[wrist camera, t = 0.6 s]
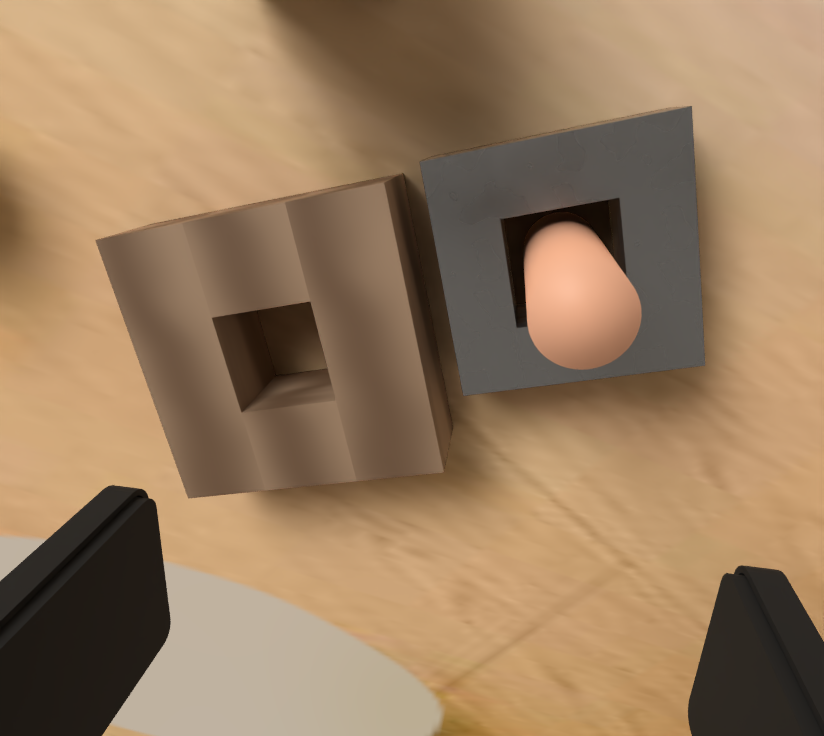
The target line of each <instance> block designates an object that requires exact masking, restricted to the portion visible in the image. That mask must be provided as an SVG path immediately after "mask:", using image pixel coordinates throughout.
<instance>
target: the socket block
mask: <svg viewBox="0 0 824 736" xmlns="http://www.w3.org/2000/svg"><path fill="white" fill-rule="evenodd" d="M96 243H97V246H98V249H99V252H100V254H101V257H102V260H103V263H104V265H105V268H106V271H107V274H108V277H109V279H110V282H111V285H112V288H113V290H114V293H115V296H116V299H117V302H118V304H119V307H120V310H121V313H122V315H123V318H124V321H125V324H126V327H127V329H128V332H129V335H130V338H131V340H132V343H133V346H134V349H135V352H136V354H137V357H138V360H139V363H140V365H141V368H142V371H143V374H144V377H145V379H146V382H147V385H148V388H149V390H150V393H151V396H152V399H153V402H154V404H155V407H156V410H157V413H158V415H159V418H160V421H161V424H162V427H163V429H164V432H165V435H166V438H167V441H168V443H169V446H170V449H171V452H172V454H173V457H174V460H175V463H176V466H177V468H178V471H179V474H180V477H181V479H182V482H183V485H184V488H185V491H186V493H187V496H188V498H197V497H207V496H217V495H226V494H236V493H246V492H256V491H266V490H276V489H286V488H296V487H305V486H315V485H325V484H335V483H345V482H355V481H365V480H375V479H384V478H394V477H404V476H414V475H424V474H434V473H444V469H445V464H446V459H447V454H448V450H449V445H450V440H451V435H452V430H453V425H452V420H451V415H450V410H449V405H448V400H447V395H446V390H445V385H444V379H443V374H442V369H441V364H440V359H439V354H438V349H437V344H436V339H435V334H434V328H433V323H432V318H431V313H430V308H429V303H428V298H427V293H426V288H425V283H424V277H423V272H422V267H421V262H420V257H419V252H418V247H417V242H416V237H415V231H414V226H413V221H412V216H411V211H410V206H409V201H408V196H407V191H406V186H405V180H404V175H403V173H402V174H397V175H392V176H387V177H382V178H377V179H372V180H367V181H362V182H357V183H353V184H348V185H343V186H338V187H333V188H328V189H323V190H318V191H313V192H308V193H303V194H298V195H293V196H288V197H283V198H278V199H273V200H268V201H263V202H258V203H253V204H248V205H243V206H239V207H234V208H229V209H224V210H219V211H214V212H209V213H204V214H199V215H194V216H189V217H184V218H179V219H174V220H169V221H164V222H159V223H154V224H150V225H146V226H143V227H140V228H136V229H133V230H129V231H126V232H122V233H119V234H115V235H112V236H108V237H105V238H102V239H98V240H96ZM304 302H311V306H312V310H313V314H314V317H315V321H316V325H317V329H318V333H319V337H320V341H321V345H322V348H323V352H324V356H325V360H326V364H327V368H328V369H322V370H315V371H307V372H300V373H293V374H286V375H279V376H276V375H275V372H274V368H273V365H272V362H271V358H270V355H269V351H268V348H267V344H266V341H265V337H264V334H263V330H262V327H261V323H260V320H259V316H258V313H257V310H261V309H267V308H273V307H280V306H286V305H292V304H298V303H304Z"/></svg>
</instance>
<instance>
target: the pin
mask: <svg viewBox="0 0 824 736" xmlns="http://www.w3.org/2000/svg"><path fill="white" fill-rule="evenodd" d="M523 258H524V275H525V292H526V309H527V325H528V330H529V334H530V337H531V339H532V341H533V343H534V345H535V346H536V348H537V349H538V350H539V351H540V352H541V353H542V354H543V355H544V356H545V357H546V358H547V359H549V360H550V361H552V362H554V363H555V364H558V365H560V366H563V367H566V368H570V369H580V370H584V369H593V368H597V367H601V366H604V365H606V364H608V363H610V362H612V361H614V360H615V359H617V358H618V357H620V356H621V355H622V354H623V353H624V352H625V351H626V350H627V349H628V348H629V347H630V345H631V344H632V343H633V341H634V339H635V338H636V336H637V333H638V331H639V328H640V324H641V317H642V315H641V303H640V300H639V296H638V294H637V292H636V290H635V288H634V287H633V285H632V284H631V282H630V281H629V279H628V278H627V277H626V275H625V274H624V272H623V271H622V270H621V268H620V267H619V265H618V264H617V262H616V261H615V260H614V258H613V257H612V255H611V254H610V253H609V251H608V250H607V248H606V247H605V245H604V244H603V243H602V241H601V240H600V238H599V237H598V236H597V234H596V233H595V231H594V230H593V228H592V227H591V226H590V224H589V223H588V222H587V221H586V220H584V219H583V218H582V217H580V216H578V215H576V214H573V213H568V212H555V213H551V214H548V215H546V216H544V217H542V218H541V219H539V220H538V221H537V222H536V223H534V224H533V226H532V227H531V228H530V229H529V231H528V233H527V235H526V237H525V240H524V245H523Z"/></svg>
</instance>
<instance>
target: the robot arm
mask: <svg viewBox="0 0 824 736" xmlns="http://www.w3.org/2000/svg"><path fill="white" fill-rule="evenodd" d="M169 630H170V612H169V604H168V597H167V588H166V580H165V572H164V564H163V556H162V547H161V539H160V531H159V523H158V515H157V507H156V503H155V502H154V500H152V499H149V498H148V495H147V493H146V491H144V490H142V489H137V488H130V487H122V486H114V485H112V486H108V487H106V488H105V489H103V490H102V491H101V492H100V493H99V494H98V495H97V496H96V497H94V498H93V499H92V500H91V501H90V502H89V503H88V504H87V505H85V506H84V507H83V508H82V509H81V510H80V511H79V512H78V513H76V514H75V515H74V516H73V517H72V518H71V519H70V520H69V521H67V522H66V523H65V524H64V525H63V526H62V527H61V528H60V529H58V530H57V531H56V532H55V533H54V534H53V535H52V536H51V537H50V538H48V539H47V540H46V541H45V542H44V543H43V544H42V545H41V546H39V547H38V548H37V549H36V550H35V551H34V552H33V553H32V554H30V555H29V556H28V557H27V558H26V559H25V560H24V561H23V562H21V563H20V564H19V565H18V566H17V567H16V568H15V569H14V570H13V571H11V572H10V573H9V574H8V575H7V576H6V577H5V578H3V579H2V580H1V581H0V736H102V735H103V733H104V732H105V730H106V729H107V727H108V726H109V724H110V723H111V721H112V720H113V718H114V717H115V715H116V714H117V713H118V711H119V710H120V708H121V706H122V705H123V703H124V702H125V701H126V699H127V698H128V696H129V695H130V693H131V692H132V690H133V689H134V687H135V686H136V684H137V683H138V681H139V680H140V679H141V677H142V676H143V674H144V673H145V671H146V670H147V668H148V667H149V665H150V664H151V662H152V661H153V659H154V658H155V656H156V655H157V653H158V652H159V651H160V649H161V647H162V646H163V645H164V643H165V641H166V639H167V637H168V634H169ZM688 719H689V726H690V730H691V734H692V736H824V641H823V640H822V638H821V636H820V635H819V633H818V631H817V629H816V628H815V626H814V624H813V622H812V621H811V619H810V617H809V616H808V614H807V612H806V610H805V609H804V607H803V605H802V603H801V602H800V600H799V598H798V597H797V595H796V593H795V591H794V590H793V588H792V586H791V584H790V583H789V581H788V579H787V577H786V576H785V575H784V573H783V572H781V571H779V570H774V569H766V568H758V567H750V566H742V565H741V566H738V568H737V569H736V570H735V573H734V574H729V573H726V574H724V576H723V577H722V580H721V583H720V587H719V591H718V595H717V598H716V602H715V606H714V610H713V613H712V617H711V621H710V624H709V628H708V632H707V636H706V639H705V643H704V647H703V651H702V654H701V658H700V662H699V666H698V669H697V673H696V677H695V680H694V684H693V688H692V692H691V695H690V699H689V705H688Z"/></svg>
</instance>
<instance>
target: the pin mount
mask: <svg viewBox="0 0 824 736" xmlns="http://www.w3.org/2000/svg"><path fill="white" fill-rule="evenodd" d="M420 166H421V172H422V177H423V183H424V188H425V193H426V199H427V204H428V209H429V215H430V220H431V225H432V231H433V236H434V241H435V247H436V252H437V257H438V263H439V268H440V274H441V279H442V284H443V290H444V295H445V300H446V306H447V311H448V316H449V322H450V327H451V332H452V338H453V343H454V349H455V354H456V359H457V365H458V370H459V375H460V381H461V386H462V391H463V396H466V395H474V394H482V393H490V392H498V391H506V390H514V389H522V388H530V387H538V386H546V385H554V384H562V383H570V382H578V381H586V380H593V379H601V378H609V377H617V376H625V375H633V374H641V373H649V372H657V371H665V370H673V369H681V368H689V367H697V366H705V353H704V333H703V314H702V295H701V275H700V256H699V237H698V217H697V198H696V179H695V159H694V140H693V121H692V106H687V107H673V108H666V109H661V110H656V111H651V112H646V113H641V114H637V115H632V116H627V117H622V118H617V119H612V120H607V121H602V122H598V123H593V124H588V125H583V126H578V127H573V128H568V129H563V130H559V131H554V132H549V133H544V134H539V135H534V136H529V137H525V138H520V139H515V140H510V141H505V142H500V143H495V144H490V145H486V146H481V147H476V148H471V149H466V150H461V151H456V152H451V153H447V154H442V155H437V156H432V157H429V158H427V159H425V160H423V161H420ZM604 200H608V203H609V214H610V224H611V235H612V245H613V255H614V260H615V261H616V262H617V264H618V265H619V267H620V268H621V270H622V271H623V272H624V274H625V275H626V277H627V278H628V279H629V281H630V282H631V284H632V285H633V287H634V288H635V290H636V292H637V294H638V296H639V300H640V303H641V315H642V317H641V324H640V328H639V331H638V333H637V336H636V338H635V339H634V341H633V343H632V344H631V345H630V347H629V348H628V349H627V350H626V351H625V352H624V353H623V354H622V355H621V356H620V357H618V358H617V359H615V360H614V361H612V362H610V363H608V364H606V365H604V366H601V367H597V368H593V369H584V370H580V369H570V368H566V367H563V366H560V365H558V364H555V363H554V362H552V361H550V360H549V359H547V358H546V357H545V356H544V355H543V354H542V353H541V352H540V351H539V350H538V349H537V348H536V346H535V345H534V343H533V341H532V339H531V337H530V334H529V330H528V325H527V309H526V304H520V305H516V298H515V292H514V285H513V278H512V271H511V265H510V258H509V251H508V245H507V238H506V231H505V225H504V218H510V217H515V216H521V215H526V214H532V213H537V212H543V211H549V210H554V209H560V208H565V207H571V206H576V205H582V204H587V203H593V202H598V201H604Z"/></svg>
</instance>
